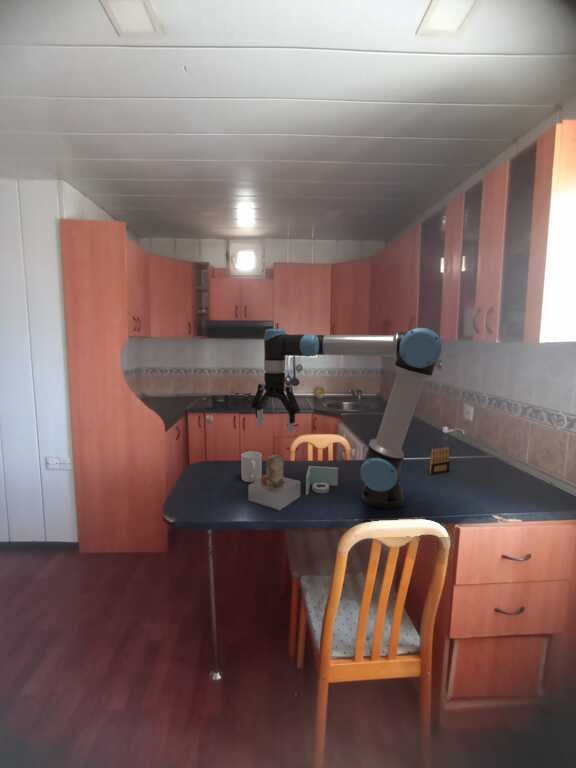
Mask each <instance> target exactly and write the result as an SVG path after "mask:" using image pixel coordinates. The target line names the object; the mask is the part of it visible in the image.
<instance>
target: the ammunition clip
mask: <svg viewBox="0 0 576 768" xmlns="http://www.w3.org/2000/svg"><path fill="white" fill-rule="evenodd" d="M450 463H451V462H450V448H449V446H447V447H446V446H444V447H441V448H440V447H438V448H437V447H435V448H432V449H431V453H430V458H429V463H428V465H429V466H428V472H427V474H428V475H430V476H434V475H440V474H441V475H442V474H447V473H450V467H451V466H450Z"/></svg>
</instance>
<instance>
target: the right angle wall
mask: <svg viewBox="0 0 576 768" xmlns="http://www.w3.org/2000/svg"><path fill="white" fill-rule="evenodd" d="M338 477H339V468H338V467H332V466H330V467H329V466H315V465H314V466H313V465H308V467H307V471H306V476H305V495H306V496H308V495H309V492H310V487H311V485H312V487H311V490H312V491H313V492H315V493H317V494H326V493H329V491H330V486H333V487H335V486H336V487H337V486H338V484H339V483H338V482H339V481H338V479H339V478H338Z"/></svg>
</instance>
